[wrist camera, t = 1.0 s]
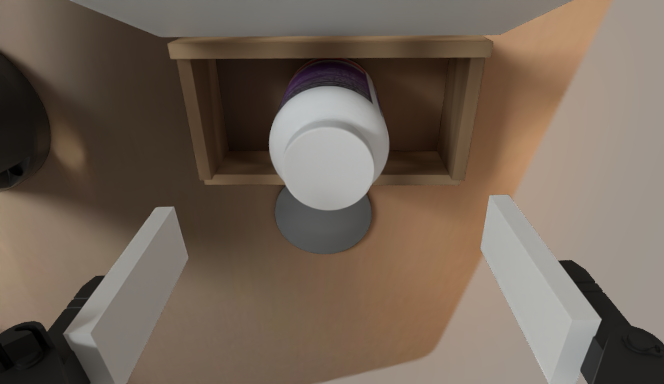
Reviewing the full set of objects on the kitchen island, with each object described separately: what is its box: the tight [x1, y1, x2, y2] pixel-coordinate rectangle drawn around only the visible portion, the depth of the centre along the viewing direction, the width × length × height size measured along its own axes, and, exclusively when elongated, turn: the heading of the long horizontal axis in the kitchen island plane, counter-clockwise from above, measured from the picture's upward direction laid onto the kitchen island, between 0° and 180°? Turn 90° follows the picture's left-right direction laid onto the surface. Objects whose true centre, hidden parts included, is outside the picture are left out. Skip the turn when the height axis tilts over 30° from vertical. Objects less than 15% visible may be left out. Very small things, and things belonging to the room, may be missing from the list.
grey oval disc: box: [275, 185, 372, 254], centre depth 42 cm, size 10×10×1 cm
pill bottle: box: [269, 58, 389, 210], centre depth 30 cm, size 8×8×14 cm
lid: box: [69, 0, 572, 37], centre depth 20 cm, size 22×12×1 cm
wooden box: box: [167, 35, 493, 185], centre depth 33 cm, size 22×12×7 cm, turn 90°
